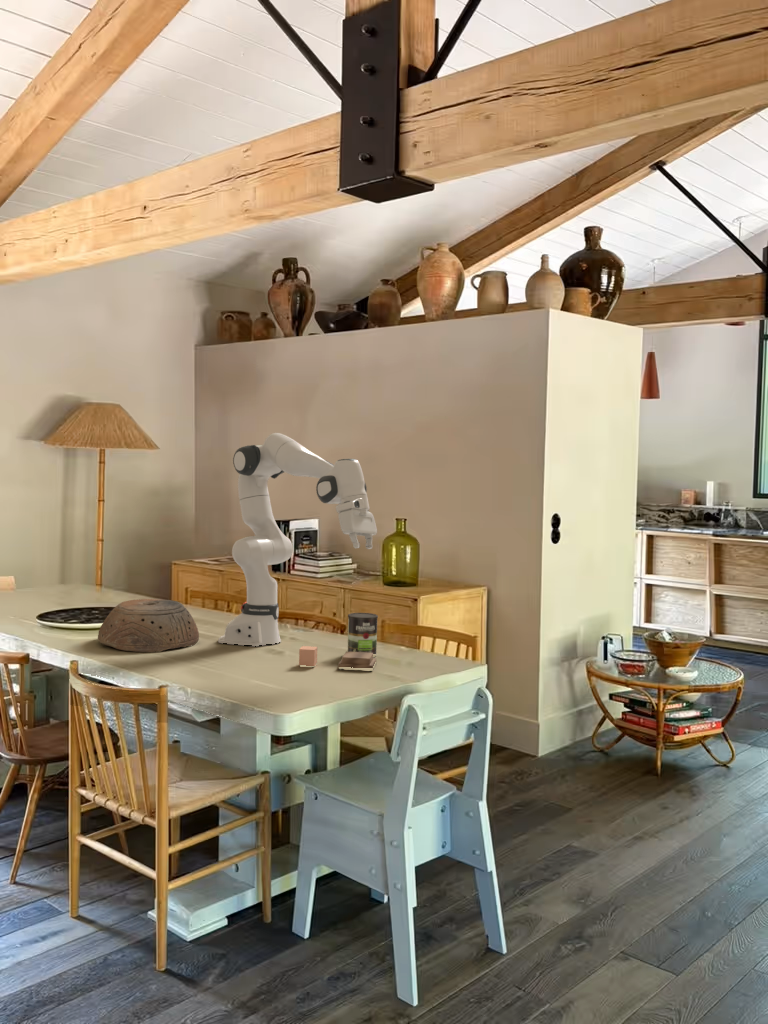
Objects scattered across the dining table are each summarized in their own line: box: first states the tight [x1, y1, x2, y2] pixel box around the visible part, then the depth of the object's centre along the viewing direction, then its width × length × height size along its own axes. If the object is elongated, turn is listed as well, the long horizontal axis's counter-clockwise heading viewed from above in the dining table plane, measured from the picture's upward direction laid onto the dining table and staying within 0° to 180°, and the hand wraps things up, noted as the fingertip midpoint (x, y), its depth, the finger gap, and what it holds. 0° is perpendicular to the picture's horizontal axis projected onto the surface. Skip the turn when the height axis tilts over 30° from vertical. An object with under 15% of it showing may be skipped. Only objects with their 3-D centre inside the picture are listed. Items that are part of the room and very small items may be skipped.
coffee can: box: [347, 612, 379, 655], centre depth 319 cm, size 10×10×14 cm
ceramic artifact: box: [97, 598, 200, 653], centre depth 331 cm, size 35×36×15 cm
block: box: [298, 645, 318, 666], centre depth 301 cm, size 5×5×6 cm
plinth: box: [337, 651, 377, 668], centre depth 301 cm, size 11×11×4 cm
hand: (363, 548), depth 297 cm, fingers open, 8 cm apart
